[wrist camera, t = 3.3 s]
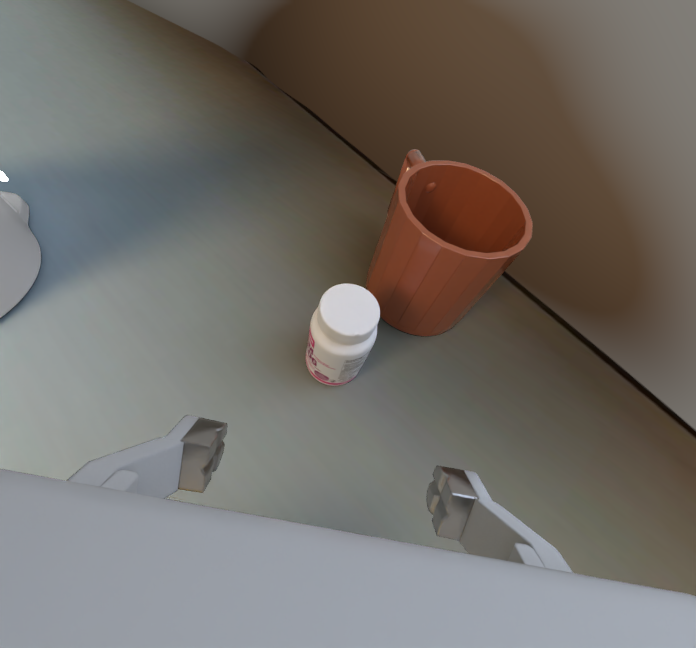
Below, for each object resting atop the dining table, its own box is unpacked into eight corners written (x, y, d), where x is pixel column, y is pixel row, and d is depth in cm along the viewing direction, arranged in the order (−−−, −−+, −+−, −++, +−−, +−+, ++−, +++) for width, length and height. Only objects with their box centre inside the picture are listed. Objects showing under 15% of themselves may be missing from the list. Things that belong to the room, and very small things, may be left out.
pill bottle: (294, 353, 28) (298, 296, 21) (338, 327, 30) (356, 267, 23) (326, 398, 27) (343, 354, 19) (371, 368, 29) (401, 317, 22)
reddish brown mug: (480, 326, 33) (559, 250, 24) (385, 345, 30) (432, 266, 21) (425, 222, 39) (469, 129, 30) (342, 229, 37) (363, 129, 27)
